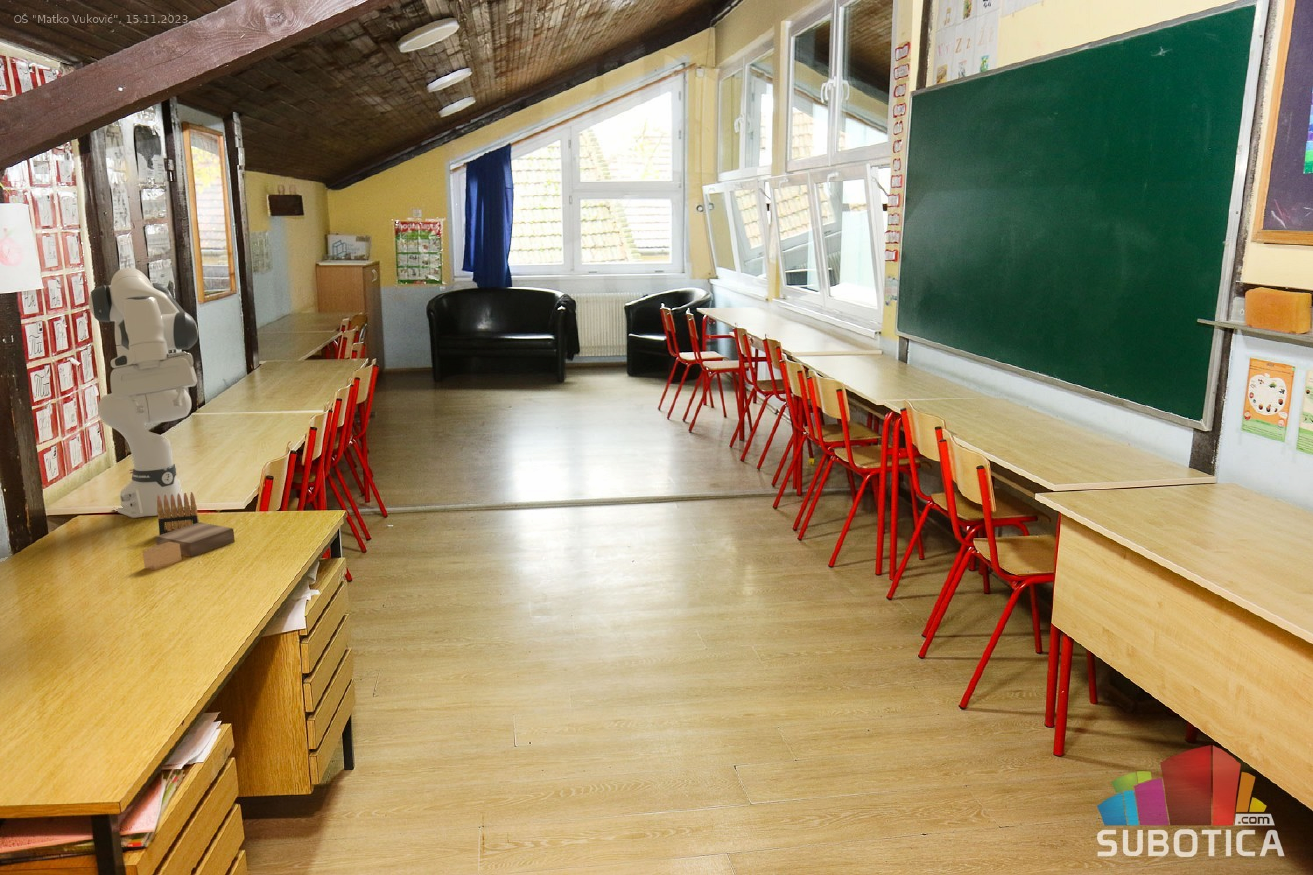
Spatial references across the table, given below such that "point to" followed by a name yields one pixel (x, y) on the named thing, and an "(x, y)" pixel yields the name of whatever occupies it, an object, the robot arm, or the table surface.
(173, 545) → the light brown wooden block
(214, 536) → the walnut stand
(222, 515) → the table surface
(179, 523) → the ammunition clip
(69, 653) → the table surface
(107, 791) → the table surface
